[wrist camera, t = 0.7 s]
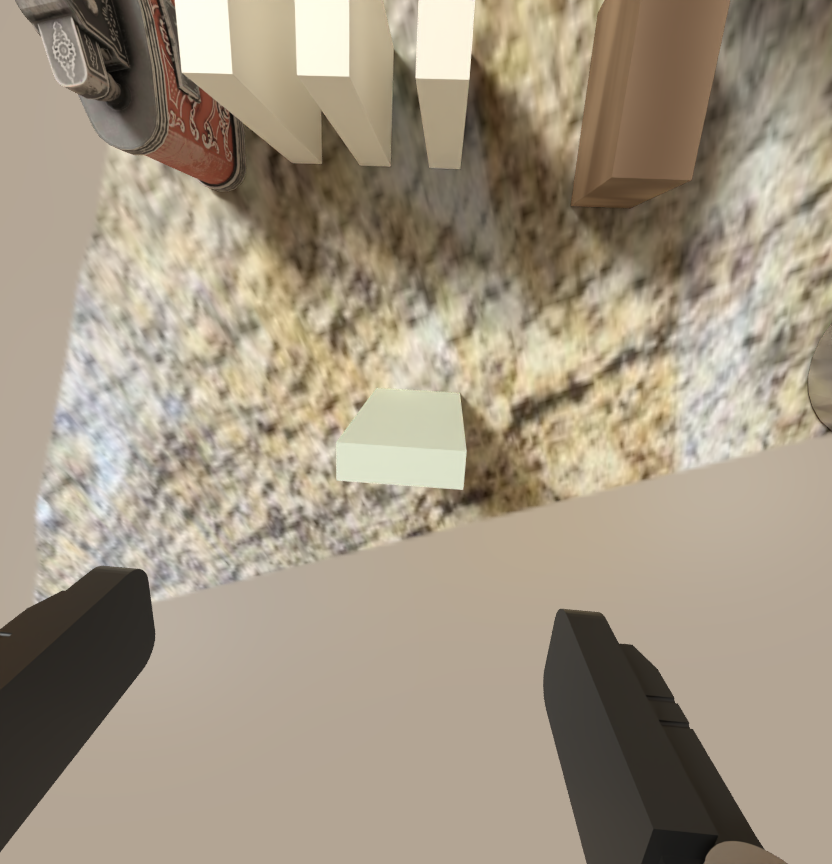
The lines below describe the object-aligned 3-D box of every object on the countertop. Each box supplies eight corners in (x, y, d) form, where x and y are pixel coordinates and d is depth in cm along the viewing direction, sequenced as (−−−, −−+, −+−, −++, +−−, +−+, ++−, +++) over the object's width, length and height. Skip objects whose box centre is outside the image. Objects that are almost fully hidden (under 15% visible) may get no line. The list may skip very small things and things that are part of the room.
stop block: (664, 14, 20) (750, -97, 14) (630, 208, 22) (691, 180, 17) (597, 13, 20) (656, -97, 14) (570, 206, 23) (611, 177, 17)
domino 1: (320, 47, 21) (217, -149, 12) (322, 164, 23) (232, 74, 13) (288, 46, 21) (160, -149, 12) (292, 163, 23) (181, 72, 13)
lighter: (257, 186, 23) (126, 116, 14) (197, 196, 24) (30, 133, 14) (218, 0, 21) (28, -240, 12) (153, 14, 21) (-84, -208, 12)
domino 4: (468, 50, 21) (485, -149, 11) (460, 169, 22) (469, 80, 13) (435, 49, 21) (424, -150, 12) (429, 167, 23) (415, 78, 13)
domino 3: (376, 387, 26) (336, 442, 17) (459, 392, 26) (466, 451, 17) (375, 413, 27) (336, 480, 17) (457, 418, 27) (463, 489, 17)
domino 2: (393, 48, 21) (349, -149, 12) (390, 166, 23) (349, 76, 13) (361, 47, 21) (289, -150, 12) (360, 165, 23) (296, 75, 13)
